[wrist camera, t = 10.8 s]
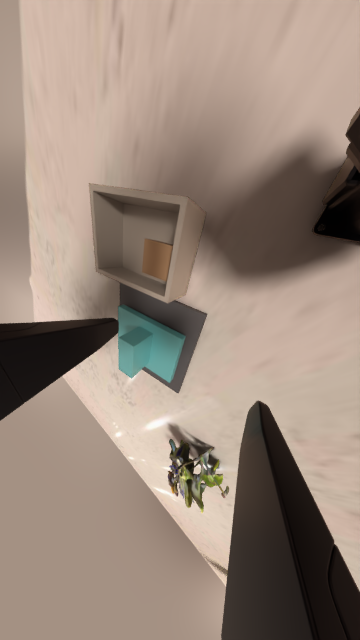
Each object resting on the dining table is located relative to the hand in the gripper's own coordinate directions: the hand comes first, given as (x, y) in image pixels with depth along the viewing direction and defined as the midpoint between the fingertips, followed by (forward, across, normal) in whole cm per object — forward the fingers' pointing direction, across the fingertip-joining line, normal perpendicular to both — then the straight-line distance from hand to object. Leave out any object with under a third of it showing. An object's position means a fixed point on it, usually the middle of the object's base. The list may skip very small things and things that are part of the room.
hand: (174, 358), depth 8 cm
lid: (+12, +10, +12) cm, 20 cm away
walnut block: (+12, +9, -3) cm, 16 cm away
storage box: (+13, +12, -4) cm, 18 cm away
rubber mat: (+13, +10, +12) cm, 20 cm away
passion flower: (+13, -8, +35) cm, 38 cm away
